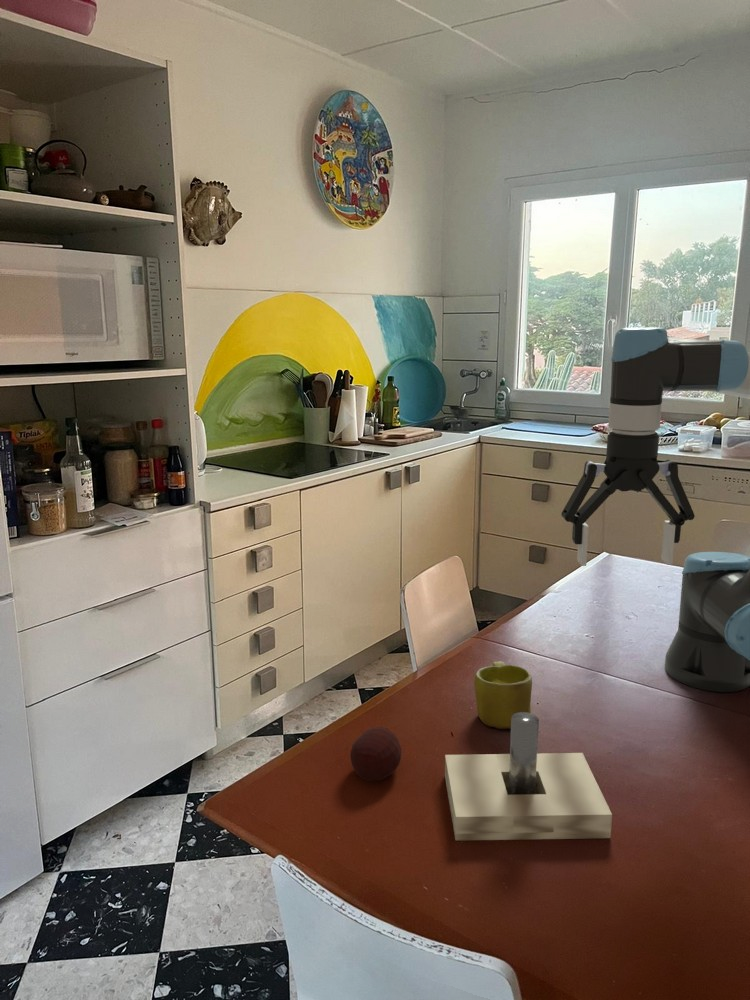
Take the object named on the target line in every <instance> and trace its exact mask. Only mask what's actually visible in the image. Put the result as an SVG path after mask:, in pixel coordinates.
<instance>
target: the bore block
mask: <svg viewBox="0 0 750 1000" xmlns="http://www.w3.org/2000/svg"><path fill="white" fill-rule="evenodd" d="M509 765H510V753H498V754H497V753H494V754H493V753H492V754H491V753H489V754H488V753H486V754H477V753H476V754H474V753H473V754H444V779H445V785H446V791H447V798H448V803H449V810H450V815H451V822H452V827H453V832H454V833H453V835H454V839H455V841H457V842H458V841H501V840H502V841H507V840H508V841H513V840H515V841H516V840H519V841H522V840H565V839H566V840H568V839H569V840H570V839H571V840H575V839H577V840H578V839H579V840H580V839H611V835H612V834H611V833H612V824H613V823H612V819H613V813H612V812H611V810H610V807H609V804H608V803H607V801H606V799H605V797H604V794H603V792H602V791H601V789H600V787H599V784H598V783H597V780H596V779H595V776H594V774H593V772H592V769H591V768H590V765H589V764H588V762H587V759H586V757H585V755H584V753H583V752H553V753H550V752H549V753H547V752H546V753H545V752H544V753H541V752H540V753H538V752H537V767H536V787H535V794H527V795H508V791H509Z"/></svg>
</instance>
